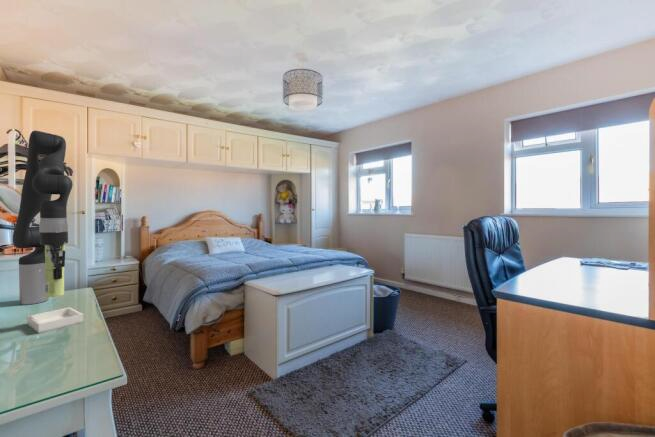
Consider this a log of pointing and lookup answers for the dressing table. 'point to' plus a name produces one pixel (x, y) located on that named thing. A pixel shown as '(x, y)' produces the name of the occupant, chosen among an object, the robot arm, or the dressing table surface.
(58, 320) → the tray
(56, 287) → the tube
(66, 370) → the dressing table surface
